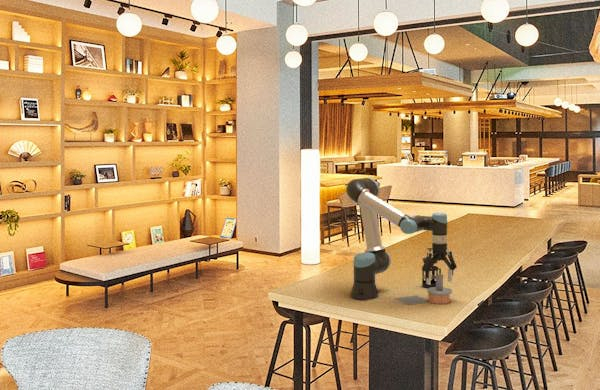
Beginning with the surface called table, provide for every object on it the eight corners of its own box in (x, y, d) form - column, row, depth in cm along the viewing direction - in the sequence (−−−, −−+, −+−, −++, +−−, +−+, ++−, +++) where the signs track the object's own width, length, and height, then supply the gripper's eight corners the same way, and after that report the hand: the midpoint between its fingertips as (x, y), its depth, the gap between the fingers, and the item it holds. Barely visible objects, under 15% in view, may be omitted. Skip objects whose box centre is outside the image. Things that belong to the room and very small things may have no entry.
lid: (422, 290, 297) (422, 273, 296) (442, 287, 301) (442, 271, 300) (436, 296, 285) (436, 278, 284) (456, 293, 290) (456, 276, 289)
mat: (393, 299, 300) (393, 298, 300) (416, 296, 305) (416, 295, 305) (407, 306, 287) (407, 305, 287) (431, 302, 292) (431, 302, 292)
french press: (417, 287, 323) (417, 248, 321) (425, 284, 331) (425, 246, 329) (436, 290, 316) (437, 250, 314) (443, 287, 323) (444, 248, 321)
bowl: (425, 300, 297) (425, 290, 296) (441, 298, 300) (441, 288, 300) (436, 305, 287) (436, 295, 287) (453, 303, 291) (453, 293, 290)
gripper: (423, 245, 283) (423, 287, 285) (463, 242, 292) (463, 282, 294) (415, 243, 290) (415, 283, 292) (455, 239, 299) (454, 279, 301)
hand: (439, 283), depth 293 cm, fingers open, 13 cm apart
